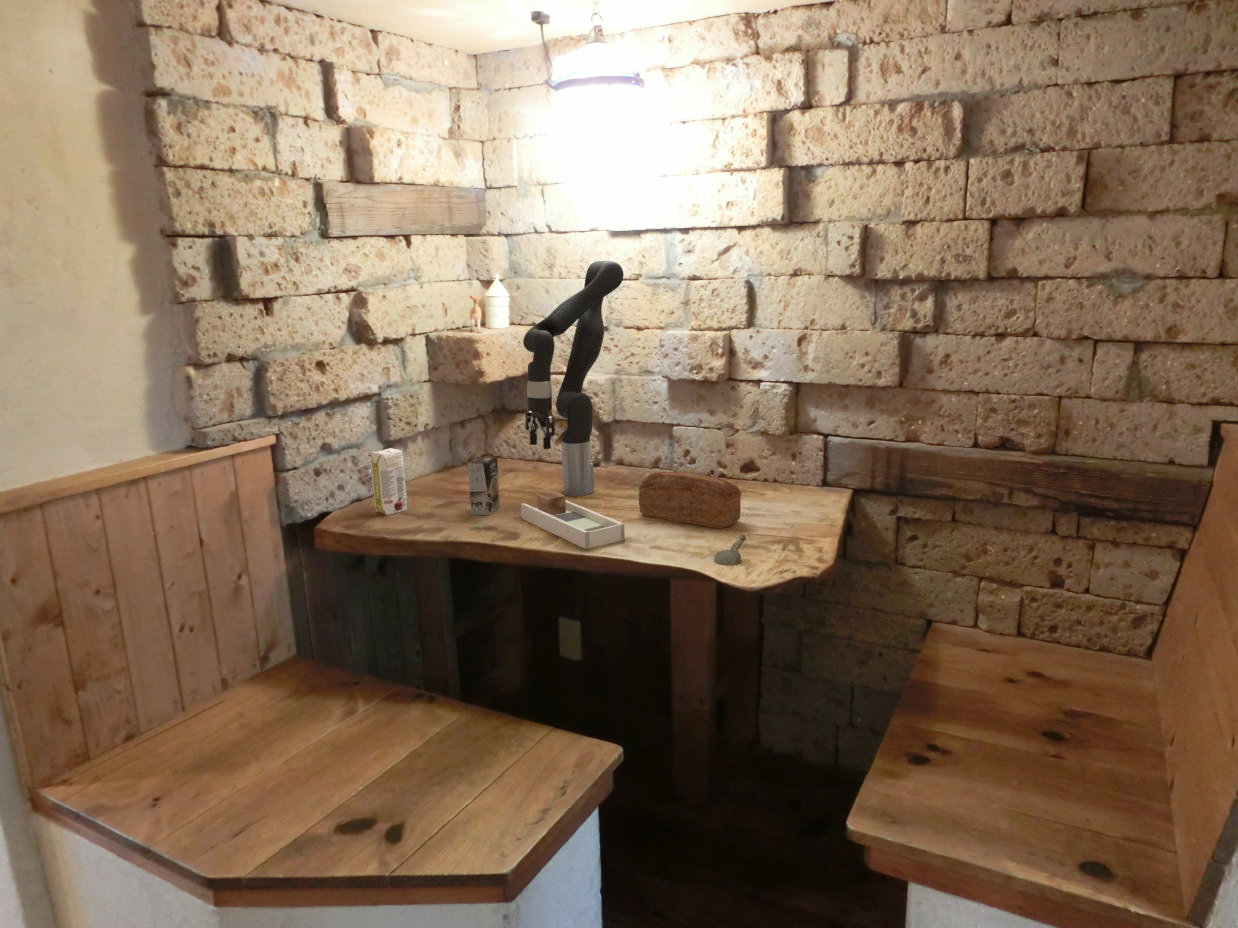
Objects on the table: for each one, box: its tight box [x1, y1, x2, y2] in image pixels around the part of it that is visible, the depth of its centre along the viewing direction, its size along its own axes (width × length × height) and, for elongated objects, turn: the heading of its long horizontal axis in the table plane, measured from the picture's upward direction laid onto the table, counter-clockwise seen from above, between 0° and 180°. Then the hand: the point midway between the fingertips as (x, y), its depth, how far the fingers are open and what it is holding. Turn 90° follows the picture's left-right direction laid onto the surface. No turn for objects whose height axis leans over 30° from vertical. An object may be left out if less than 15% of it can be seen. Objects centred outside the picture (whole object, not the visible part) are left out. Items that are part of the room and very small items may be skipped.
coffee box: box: [467, 456, 501, 516], centre depth 257 cm, size 9×6×16 cm
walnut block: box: [536, 491, 566, 515], centre depth 247 cm, size 6×6×5 cm
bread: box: [638, 471, 742, 529], centre depth 245 cm, size 12×31×14 cm, turn 57°
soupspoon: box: [713, 533, 747, 567], centre depth 218 cm, size 22×3×7 cm
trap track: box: [520, 499, 626, 550], centre depth 239 cm, size 12×35×4 cm, turn 35°
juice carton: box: [370, 447, 408, 516], centre depth 258 cm, size 8×9×19 cm
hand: (540, 446), depth 265 cm, fingers open, 8 cm apart
